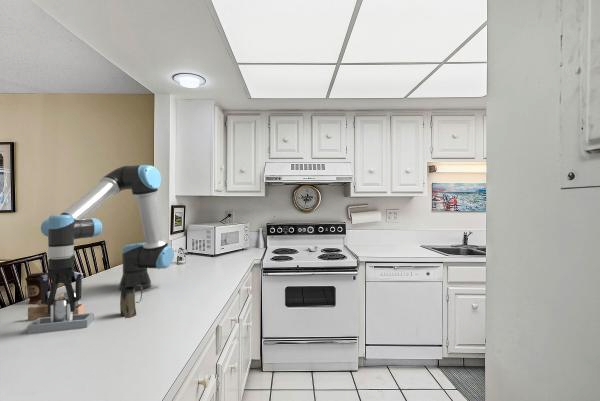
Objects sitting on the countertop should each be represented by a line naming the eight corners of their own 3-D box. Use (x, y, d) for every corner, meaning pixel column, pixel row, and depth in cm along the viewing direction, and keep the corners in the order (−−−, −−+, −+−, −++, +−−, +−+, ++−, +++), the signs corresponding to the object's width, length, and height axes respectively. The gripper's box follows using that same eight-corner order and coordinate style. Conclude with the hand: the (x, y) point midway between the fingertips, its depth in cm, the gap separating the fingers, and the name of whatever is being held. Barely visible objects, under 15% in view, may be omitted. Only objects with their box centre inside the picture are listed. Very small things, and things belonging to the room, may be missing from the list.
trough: (94, 321, 125) (93, 312, 125) (87, 329, 118) (87, 320, 118) (38, 327, 120) (38, 318, 120) (27, 335, 112) (27, 326, 112)
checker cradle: (69, 310, 137) (69, 296, 137) (60, 319, 127) (59, 303, 127) (38, 313, 134) (38, 298, 134) (26, 322, 124) (26, 306, 124)
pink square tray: (84, 315, 131) (84, 303, 131) (78, 321, 125) (78, 308, 125) (64, 317, 129) (64, 305, 129) (57, 324, 123) (56, 310, 122)
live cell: (71, 323, 121) (71, 294, 121) (66, 328, 117) (66, 298, 117) (57, 325, 120) (57, 295, 120) (52, 329, 116) (52, 299, 116)
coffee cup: (35, 305, 144) (34, 276, 144) (20, 304, 146) (19, 275, 146) (53, 299, 153) (53, 272, 153) (39, 298, 154) (39, 271, 154)
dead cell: (79, 315, 130) (79, 288, 130) (75, 319, 125) (75, 291, 125) (67, 316, 128) (66, 289, 128) (62, 320, 124) (62, 292, 124)
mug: (118, 318, 127) (118, 288, 127) (122, 313, 133) (122, 284, 133) (140, 316, 129) (140, 286, 129) (143, 312, 135) (143, 283, 135)
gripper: (91, 254, 125) (92, 315, 125) (37, 257, 120) (38, 320, 119) (85, 257, 117) (85, 322, 117) (27, 260, 112) (27, 328, 112)
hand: (61, 321), depth 118 cm, fingers closed on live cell, 4 cm apart
